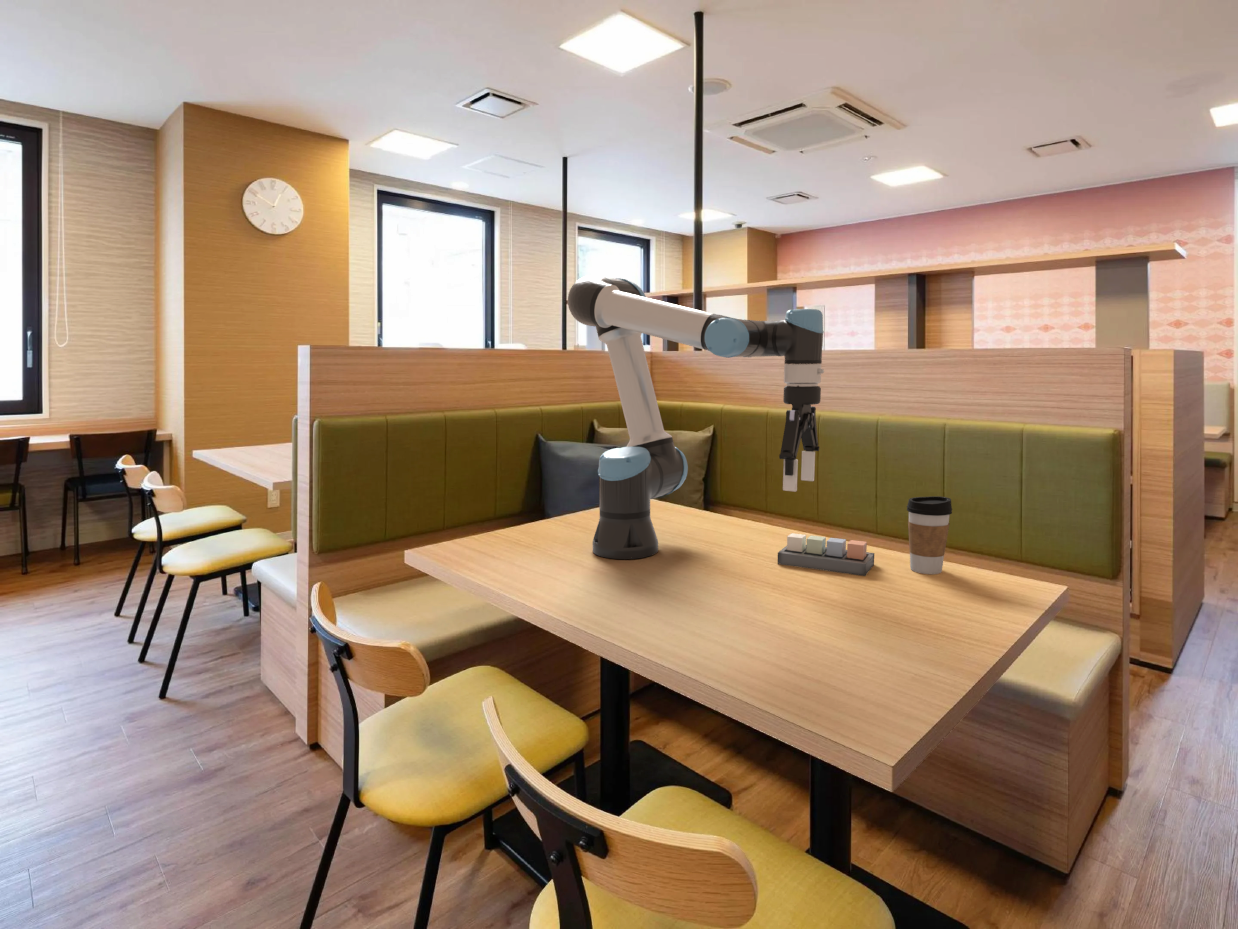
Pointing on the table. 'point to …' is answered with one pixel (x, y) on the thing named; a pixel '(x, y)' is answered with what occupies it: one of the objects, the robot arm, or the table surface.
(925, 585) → the table surface
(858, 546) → the key terracotta
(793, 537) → the key cream
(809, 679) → the table surface
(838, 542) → the key slate
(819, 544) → the key sage
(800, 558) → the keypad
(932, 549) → the coffee cup
